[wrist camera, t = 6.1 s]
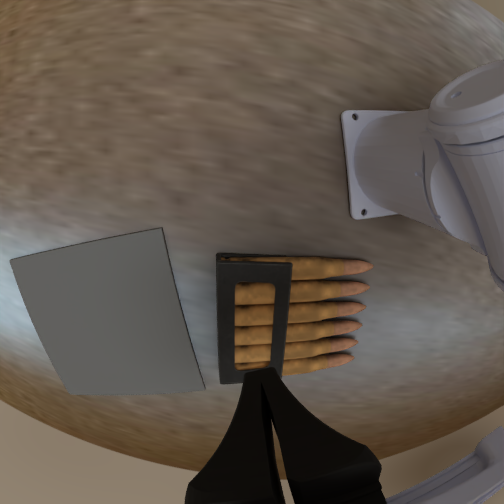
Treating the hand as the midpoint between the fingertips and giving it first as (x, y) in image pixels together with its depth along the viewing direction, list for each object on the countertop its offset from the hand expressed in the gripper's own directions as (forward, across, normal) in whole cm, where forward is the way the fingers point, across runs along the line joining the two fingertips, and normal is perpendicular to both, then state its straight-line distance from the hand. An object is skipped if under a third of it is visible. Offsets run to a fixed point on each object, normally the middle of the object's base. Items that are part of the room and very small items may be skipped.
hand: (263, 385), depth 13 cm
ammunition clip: (+9, +3, +2) cm, 10 cm away
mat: (+11, +13, +1) cm, 16 cm away
